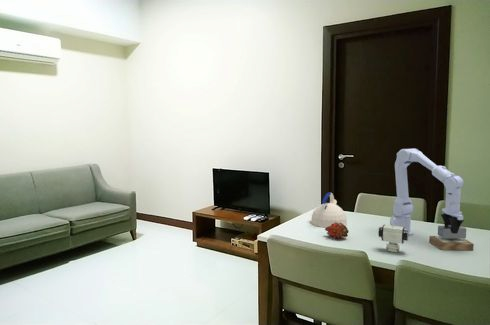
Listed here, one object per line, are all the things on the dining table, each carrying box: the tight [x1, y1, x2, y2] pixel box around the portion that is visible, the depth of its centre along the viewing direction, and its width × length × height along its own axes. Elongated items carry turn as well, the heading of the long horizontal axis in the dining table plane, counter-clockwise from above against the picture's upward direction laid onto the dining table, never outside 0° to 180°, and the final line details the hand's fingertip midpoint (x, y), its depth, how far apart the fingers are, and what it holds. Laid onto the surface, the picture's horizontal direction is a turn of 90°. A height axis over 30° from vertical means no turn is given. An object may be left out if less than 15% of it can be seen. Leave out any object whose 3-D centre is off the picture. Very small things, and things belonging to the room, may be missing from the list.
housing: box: [437, 224, 467, 239], centre depth 158 cm, size 10×5×5 cm, turn 86°
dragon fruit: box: [324, 222, 349, 240], centre depth 172 cm, size 8×8×12 cm
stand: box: [428, 235, 475, 251], centre depth 159 cm, size 14×11×3 cm
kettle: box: [310, 192, 348, 228], centre depth 198 cm, size 20×21×18 cm
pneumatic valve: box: [378, 224, 409, 253], centre depth 153 cm, size 6×12×12 cm, turn 60°
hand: (451, 231), depth 159 cm, fingers closed on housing, 5 cm apart
